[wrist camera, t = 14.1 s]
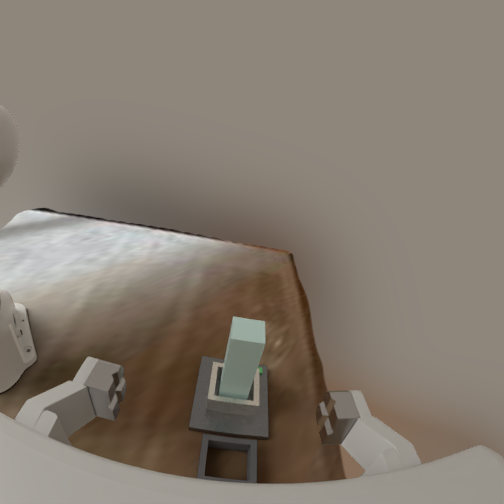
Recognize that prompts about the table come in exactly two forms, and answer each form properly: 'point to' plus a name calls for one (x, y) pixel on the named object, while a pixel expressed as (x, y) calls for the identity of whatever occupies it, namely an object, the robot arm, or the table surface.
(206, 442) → the holster
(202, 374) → the port panel
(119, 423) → the table surface
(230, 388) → the plug
